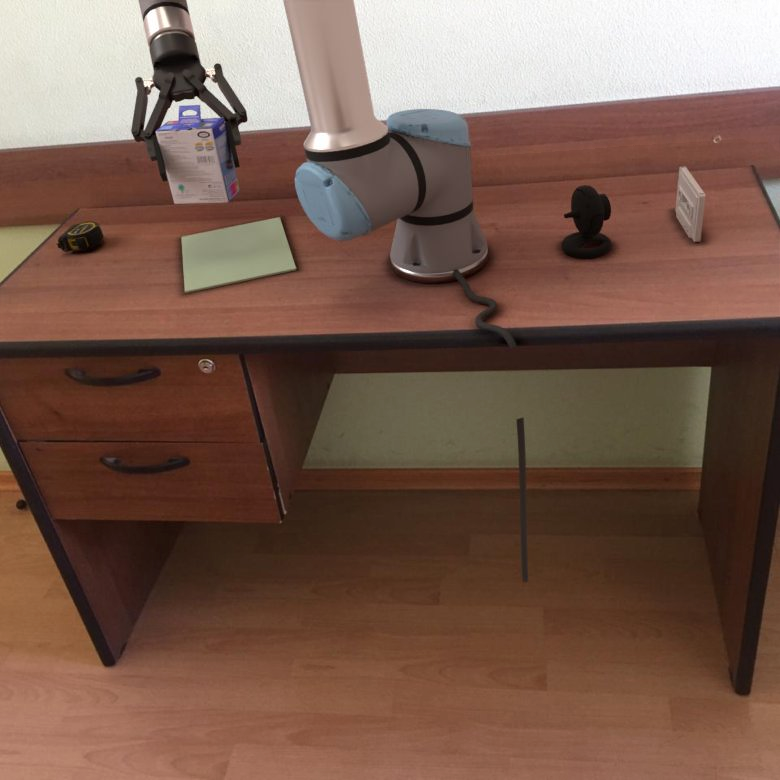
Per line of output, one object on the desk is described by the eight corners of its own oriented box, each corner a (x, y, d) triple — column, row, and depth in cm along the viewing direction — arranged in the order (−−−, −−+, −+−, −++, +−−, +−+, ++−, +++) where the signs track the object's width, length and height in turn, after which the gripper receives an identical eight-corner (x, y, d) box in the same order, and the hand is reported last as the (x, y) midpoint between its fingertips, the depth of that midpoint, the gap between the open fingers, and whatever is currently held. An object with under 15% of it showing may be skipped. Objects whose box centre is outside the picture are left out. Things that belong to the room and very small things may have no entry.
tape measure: (78, 239, 155) (71, 220, 153) (112, 237, 154) (105, 219, 152) (60, 255, 150) (53, 236, 148) (95, 254, 148) (88, 235, 146)
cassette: (703, 242, 126) (709, 194, 122) (691, 243, 126) (696, 196, 122) (683, 210, 136) (688, 165, 132) (672, 211, 136) (676, 166, 132)
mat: (296, 270, 134) (296, 268, 134) (185, 293, 132) (184, 291, 132) (280, 219, 152) (279, 216, 152) (181, 238, 150) (181, 236, 150)
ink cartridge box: (242, 190, 137) (222, 101, 128) (230, 203, 132) (209, 112, 124) (186, 191, 139) (163, 104, 131) (173, 205, 135) (148, 116, 126)
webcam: (620, 252, 127) (623, 190, 121) (575, 263, 125) (576, 201, 120) (596, 233, 133) (598, 173, 127) (553, 243, 132) (553, 183, 126)
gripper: (245, 46, 139) (274, 167, 135) (105, 70, 136) (131, 194, 132) (241, 18, 132) (272, 145, 128) (93, 43, 129) (120, 174, 125)
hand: (200, 170), depth 130 cm, fingers closed on ink cartridge box, 11 cm apart
